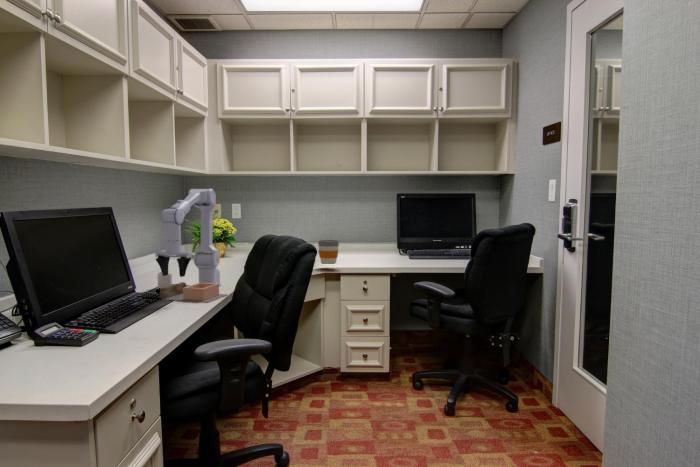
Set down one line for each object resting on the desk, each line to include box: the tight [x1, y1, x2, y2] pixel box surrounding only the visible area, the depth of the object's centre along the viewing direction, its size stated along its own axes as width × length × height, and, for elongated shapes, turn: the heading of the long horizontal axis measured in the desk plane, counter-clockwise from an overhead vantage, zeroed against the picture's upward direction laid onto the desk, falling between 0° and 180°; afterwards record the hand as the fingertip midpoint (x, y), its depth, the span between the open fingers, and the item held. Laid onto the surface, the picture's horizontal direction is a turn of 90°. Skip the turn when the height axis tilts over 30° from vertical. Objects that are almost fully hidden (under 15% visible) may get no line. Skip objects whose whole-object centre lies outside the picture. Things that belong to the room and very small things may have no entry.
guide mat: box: [163, 293, 229, 304], centre depth 163 cm, size 14×24×1 cm, turn 76°
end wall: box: [159, 281, 187, 300], centre depth 165 cm, size 13×2×4 cm, turn 166°
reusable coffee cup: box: [317, 239, 339, 264], centre depth 248 cm, size 12×12×15 cm
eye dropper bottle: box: [157, 271, 173, 290], centre depth 174 cm, size 4×6×12 cm
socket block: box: [183, 282, 220, 300], centre depth 161 cm, size 10×9×4 cm
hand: (173, 275), depth 155 cm, fingers open, 7 cm apart
